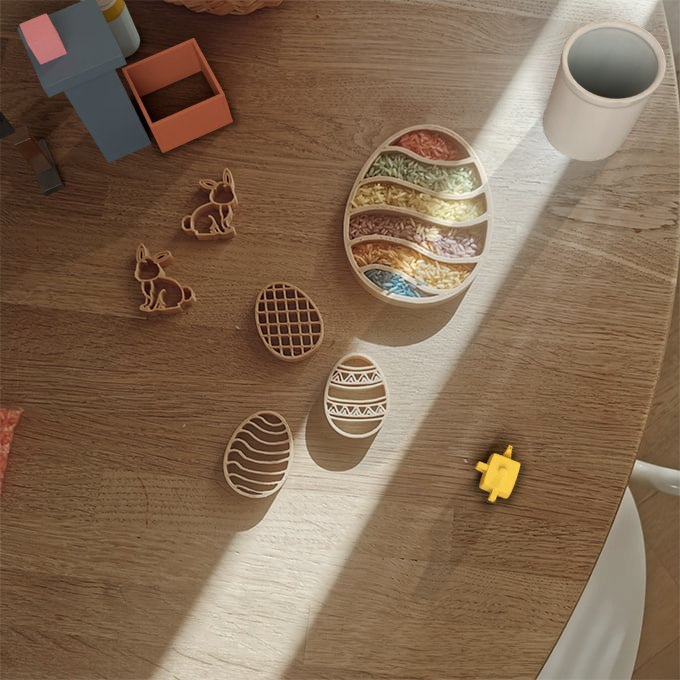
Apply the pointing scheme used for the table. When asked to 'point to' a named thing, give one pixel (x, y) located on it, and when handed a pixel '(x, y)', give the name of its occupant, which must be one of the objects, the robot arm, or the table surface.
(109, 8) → the bottle
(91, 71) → the blue t-shaped block
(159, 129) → the bin
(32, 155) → the dark grey angular piece
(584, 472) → the table surface
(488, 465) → the teapot
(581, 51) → the utensil holder
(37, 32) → the pink rectangular block
